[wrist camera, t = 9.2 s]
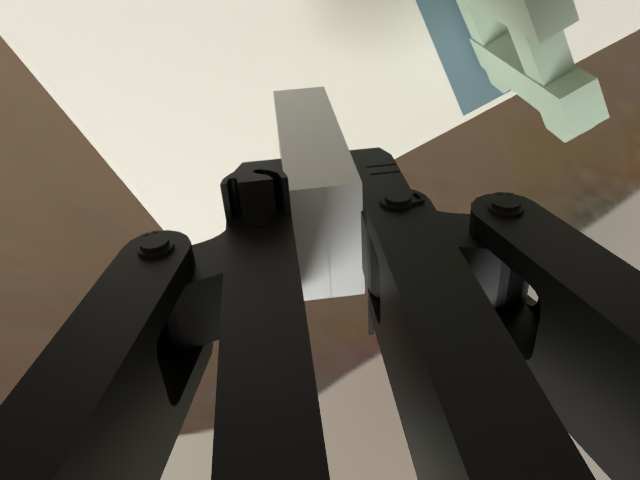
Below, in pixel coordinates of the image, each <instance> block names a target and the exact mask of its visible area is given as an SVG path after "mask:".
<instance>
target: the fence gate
mask: <svg viewBox="0 0 640 480" xmlns="http://www.w3.org/2000/svg"><path fill="white" fill-rule="evenodd" d="M456 2H457V4H458V7H459V9H460V11H461V14H462V16H463V18H464V21H465V23H466V25H467V28H468V30H469V32H470V35H471V37H469V39H470V42H471V44H472V46H473V49H474V51H475V53H476V56H477V58H478V61H479V63H480V65H481V67H482V68H483V69H485V70H486V73H487V75H488V77H489V80H490V82H491V84H492V85H493V86H495V87H496V88H497V89H498V90H500V91H501V92H502V93H505V92H507V91H509V90H510V89H511V90H512V91H513V92H515V93H516V94H517V95H519V96H520V97H521V98H523V99H524V100H525V101H527V102H528V103H529V104H530V105H532V106H533V107H534V108H536V109H537V110H538V111H540V113H541V116H542V118H543V121H544V124H545V126H546V128H547V129H548V130H549V131H551V132H552V133H553V134H554V135H556V136H557V137H558V138H559V139H561V140H562V141H563V142H564V143H566V142H568V141H569V140H571V139H573V138H575V137H577V136H578V135H580V134H582V133H584V132H586V131H588V130H589V129H591V128H593V127H595V125H597V124H598V123H600V122H602V121H604V120H606V119H608V118H609V113H608V110H607V107H606V104H605V101H604V97H603V94H602V91H601V88H600V84H599V81H598V78H596V77H595V76H593V75H591V74H589V73H587V72H585V71H584V70H582V69H580V68H578V67H576V66H575V64H574V61H573V58H572V55H571V52H570V49H569V46H568V43H567V40H566V37H565V34H564V29H565V28H567V27H569V26H570V25H572V24H574V23H576V22H577V21H579V17H578V13H577V10H576V7H575V4H574V1H573V0H456ZM507 27H508V29H507Z"/></svg>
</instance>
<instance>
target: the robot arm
mask: <svg viewBox="0 0 640 480" xmlns="http://www.w3.org/2000/svg"><path fill="white" fill-rule="evenodd" d="M273 94H274V104H275V113H276V123H277V133H278V142H279V152H280V159H272V160H262V161H252V162H242V163H241V164H240V166H239V167H238V168H237V169H236V170H235V171H234V172H233V173H230V174H229V175H228V176H226V177H225V178H223V180H222V182H221V183H220V188H221V194H222V200H223V205H224V211H225V217H226V230H225V231H224V232H222V233H221V234H220V235H218V236H216V237H214V238H212V239H209V240H207V241H204V242H201V243H197V244H194V245H192V244H191V241H190V239H189V238H188V236H187V235H185V234H183V233H181V232H178V231H171V230H164V231H152V232H151V233H149V232H148V233H145V234H142V235H141V236H139V237H137V238H135V239H133V240H131V241H130V242H129V243H127V244H126V245H125V246H124V247H123V248H122V249H121V251H120V252H119V253H118V254H117V256H116V257H115V258H114V260H113V261H112V262H111V263H110V265H109V266H108V267H107V269H106V270H105V271H104V273H103V274H102V275H101V276H100V278H99V279H98V280H97V282H96V283H95V284H94V285H93V287H92V288H91V289H90V291H89V292H88V293H87V294H86V296H85V297H84V298H83V300H82V301H81V302H80V303H79V305H78V306H77V307H76V309H75V310H74V311H73V313H72V314H71V315H70V316H69V318H68V319H67V320H66V322H65V323H64V324H63V325H62V327H61V328H60V329H59V331H58V332H57V333H56V334H55V336H54V337H53V338H52V340H51V341H50V342H49V344H48V345H47V346H46V347H45V349H44V350H43V351H42V353H41V354H40V355H39V356H38V358H37V359H36V360H35V362H34V363H33V364H32V365H31V367H30V368H29V369H28V371H27V372H26V373H25V374H24V376H23V377H22V378H21V380H20V381H19V382H18V384H17V385H16V386H15V387H14V389H13V390H12V391H11V393H10V394H9V395H8V396H7V398H6V399H5V400H4V402H3V403H2V404H1V405H0V480H160V478H161V476H162V473H163V471H164V468H165V466H166V464H167V461H168V459H169V456H170V454H171V451H172V449H173V447H174V444H175V441H176V439H177V437H178V434H179V432H180V430H181V427H182V425H183V422H184V420H185V417H186V415H187V413H188V410H189V408H190V405H191V403H192V400H193V398H194V395H195V393H196V391H197V388H198V386H199V383H200V381H201V378H202V376H203V374H204V371H205V369H206V366H207V364H208V361H209V359H210V357H211V354H212V349H213V343H212V342H213V341H216V340H219V354H218V371H217V388H216V405H215V422H214V439H213V457H212V474H211V480H330V477H329V470H328V463H327V457H326V450H325V442H324V437H323V429H322V422H321V415H320V408H319V401H318V394H317V387H316V380H315V373H314V366H313V359H312V352H311V346H310V339H309V332H308V325H307V318H306V311H305V304H304V301H306V300H315V299H324V298H332V297H341V296H350V295H358V294H365V283H364V276H365V280H366V283H367V286H368V320H369V335H371V334H374V329H375V333H376V336H377V339H378V343H379V346H380V350H381V353H382V357H383V360H384V364H385V367H386V371H387V374H388V377H389V381H390V384H391V388H392V391H393V395H394V398H395V402H396V405H397V409H398V412H399V415H400V419H401V422H402V426H403V430H404V433H405V437H406V440H407V443H408V447H409V450H410V454H411V457H412V461H413V464H414V468H415V471H416V475H417V478H418V480H596V479H595V477H594V476H593V474H592V472H591V471H590V469H589V467H588V466H587V464H586V462H585V461H584V459H583V457H582V456H581V454H580V452H579V450H578V449H577V447H576V445H575V444H574V442H573V440H572V439H571V437H570V435H571V436H572V437H573V438H574V440H575V441H576V442H577V443H578V444H579V445H580V446H581V447H582V448H583V449H584V450H585V452H586V453H587V454H588V455H589V456H590V457H591V458H592V459H593V460H594V461H595V462H596V463H597V465H598V466H599V467H600V468H601V469H602V470H603V471H604V472H605V473H606V474H607V475H608V477H609V478H610V479H611V480H640V271H639V270H637V269H636V268H634V267H633V266H631V265H630V264H628V263H627V262H625V261H624V260H622V259H620V258H619V257H617V256H616V255H614V254H613V253H611V252H610V251H608V250H607V249H605V248H604V247H602V246H601V245H599V244H598V243H596V242H595V241H593V240H592V239H590V238H589V237H587V236H586V235H584V234H583V233H581V232H579V231H578V230H576V229H575V228H573V227H572V226H570V225H569V224H567V223H566V222H564V221H563V220H561V219H560V218H558V217H557V216H555V215H554V214H552V213H551V212H549V211H547V210H546V209H544V208H543V207H541V206H540V205H538V204H537V203H535V202H534V201H532V200H530V199H527V198H525V197H523V196H519V195H514V194H513V193H506V192H505V193H503V192H497V193H494V194H486V195H483V196H481V197H478V198H476V199H475V200H474V201H473V202H472V203H471V213H470V214H457V213H446V212H440V211H436V209H435V207H434V206H433V204H432V202H431V201H430V199H429V198H428V197H427V196H426V195H425V194H423V193H420V192H418V191H416V190H411V189H410V187H409V185H408V184H407V182H406V180H405V178H404V176H403V174H402V173H401V172H400V169H399V167H398V165H396V162H395V160H394V158H393V156H392V155H391V154H390V153H388V152H386V151H385V150H383V149H381V148H379V147H377V148H367V149H357V150H349V148H348V146H347V143H346V141H345V138H344V136H343V133H342V131H341V128H340V126H339V123H338V121H337V118H336V116H335V113H334V111H333V108H332V106H331V103H330V101H329V98H328V96H327V93H326V91H325V88H324V86H323V87H312V88H301V89H290V90H279V91H273ZM529 285H531V287H532V288H533V289H534V290H535V291H536V293H537V295H538V297H539V298H538V301H537V302H536V301H534V300H533V299H532V298H531V297H530V296H529V295H527V293H528V287H529ZM568 433H569V434H570V435H569V434H568Z"/></svg>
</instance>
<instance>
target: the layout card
mask: <svg viewBox="0 0 640 480" xmlns="http://www.w3.org/2000/svg"><path fill="white" fill-rule="evenodd" d="M573 1H574V4H575V7H576V10H577V13H578V17H579V21H577V22H576V23H574V24H572V25H570V26H569V27H567V28H565V29H564V34H565V37H566V40H567V43H568V46H569V49H570V52H571V55H572V58H573V61H574V64H575V63H577V62H578V61H580V60H582V59H584V58H586V57H588V56H590V55H592V54H593V53H595V52H597V51H599V50H601V49H603V48H605V47H607V46H609V45H610V44H612V43H614V42H616V41H618V40H620V39H622V38H624V37H626V36H627V35H629V34H631V33H633V32H635V31H637V30H639V29H640V0H573ZM507 29H508V27H507ZM0 35H1V37H2V38H3V39H4V40H5V41H6V43H7V44H8V45H9V46H10V47H11V49H12V50H13V51H14V52H15V53H16V54H17V56H18V57H19V58H20V59H21V60H22V62H23V63H24V64H25V65H26V66H27V68H28V69H29V70H30V71H31V72H32V74H33V75H34V76H35V77H36V78H37V80H38V81H39V82H40V83H41V84H42V86H43V87H44V88H45V89H46V90H47V91H48V93H49V94H50V95H51V96H52V97H53V99H54V100H55V101H56V102H57V103H58V105H59V106H60V107H61V108H62V109H63V111H64V112H65V113H66V114H67V115H68V117H69V118H70V119H71V120H72V121H73V122H74V124H75V125H76V126H77V127H78V128H79V130H80V131H81V132H82V133H83V134H84V136H85V137H86V138H87V139H88V140H89V142H90V143H91V144H92V145H93V146H94V148H95V149H96V150H97V151H98V152H99V154H100V155H101V156H102V157H103V158H104V159H105V161H106V162H107V163H108V164H109V165H110V167H111V168H112V169H113V170H114V171H115V173H116V174H117V175H118V176H119V177H120V179H121V180H122V181H123V182H124V183H125V185H126V186H127V187H128V188H129V189H130V190H131V192H132V193H133V194H134V195H135V196H136V198H137V199H138V200H139V201H140V202H141V204H142V205H143V206H144V207H145V208H146V210H147V211H148V212H149V213H150V214H151V216H152V217H153V218H154V219H155V220H156V222H157V223H158V224H159V225H160V226H161V227H162V229H163V230H171V231H178V232H181V233H183V234H185V235H187V236H188V238H189V239H190V241H191V244H192V245H194V244H197V243H201V242H204V241H207V240H209V239H212V238H214V237H216V236H218V235H220V234H221V233H222V232H224V231H225V230H226V217H225V211H224V205H223V200H222V194H221V188H220V183H221V182H222V180H223V178H225V177H226V176H228V175H229V174H230V173H233V172H234V171H235V170H236V169H237V168H238V167H239V166H240V164H241V163H242V162H252V161H262V160H272V159H280V152H279V142H278V133H277V123H276V113H275V104H274V94H273V91H279V90H290V89H301V88H312V87H323V86H324V88H325V91H326V93H327V96H328V98H329V101H330V103H331V106H332V108H333V111H334V113H335V116H336V118H337V121H338V123H339V126H340V128H341V131H342V133H343V136H344V138H345V141H346V143H347V146H348V148H349V150H357V149H367V148H377V147H379V148H381V149H383V150H385V151H386V152H388V153H390V154H391V155H392V156H393V158H394V159H396V158H397V157H399V156H401V155H403V154H405V153H407V152H409V151H411V150H413V149H414V148H416V147H418V146H420V145H422V144H424V143H426V142H428V141H429V140H431V139H433V138H435V137H437V136H439V135H441V134H443V133H445V132H446V131H448V130H450V129H452V128H454V127H456V126H458V125H460V124H462V123H463V122H465V121H467V120H469V119H471V118H473V117H475V116H477V115H478V114H480V113H482V112H484V111H486V110H488V109H490V108H492V107H494V106H495V105H497V104H499V103H501V102H503V101H505V100H507V99H509V98H511V97H512V96H514V95H516V93H515V92H513V91H512V90H511V89H510V90H509V91H507V92H505V93H502V92H501V91H500V90H498V89H497V88H496V87H495V86H493V85H492V84H491V82H490V80H489V77H488V75H487V73H486V70H485V69H483V68H482V67H481V65H480V63H479V61H478V58H477V56H476V53H475V51H474V49H473V46H472V44H471V42H470V39H469V37H471V35H470V32H469V30H468V28H467V25H466V23H465V21H464V18H463V16H462V14H461V11H460V9H459V7H458V4H457V2H456V0H0Z"/></svg>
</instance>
